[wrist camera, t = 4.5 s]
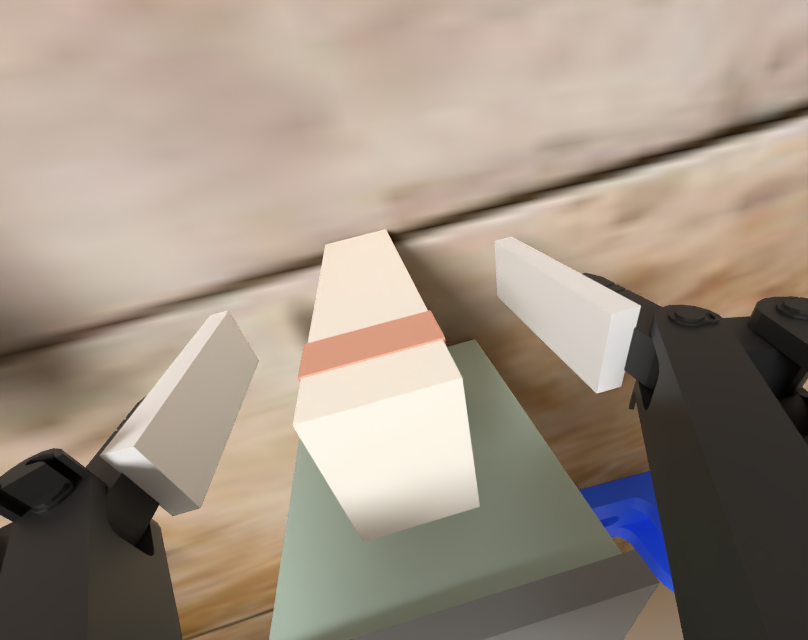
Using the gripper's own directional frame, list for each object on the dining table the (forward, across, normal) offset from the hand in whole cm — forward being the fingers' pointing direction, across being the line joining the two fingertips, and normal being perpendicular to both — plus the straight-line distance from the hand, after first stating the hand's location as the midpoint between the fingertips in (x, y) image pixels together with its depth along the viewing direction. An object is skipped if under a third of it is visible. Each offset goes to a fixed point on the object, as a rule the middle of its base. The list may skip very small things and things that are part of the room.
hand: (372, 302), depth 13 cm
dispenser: (+3, 0, -12) cm, 12 cm away
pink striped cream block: (+3, 0, -5) cm, 5 cm away
